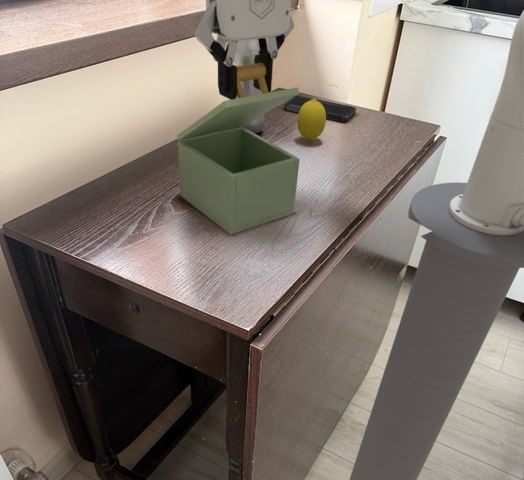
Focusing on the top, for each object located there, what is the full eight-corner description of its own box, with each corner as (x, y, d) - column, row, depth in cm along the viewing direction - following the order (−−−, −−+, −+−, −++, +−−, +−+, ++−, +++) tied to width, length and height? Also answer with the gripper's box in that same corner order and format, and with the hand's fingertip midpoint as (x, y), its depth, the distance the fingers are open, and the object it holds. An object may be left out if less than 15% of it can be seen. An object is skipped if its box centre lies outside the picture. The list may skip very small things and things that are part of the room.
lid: (299, 93, 69) (289, 54, 68) (226, 107, 63) (213, 64, 62) (243, 126, 81) (234, 93, 80) (178, 140, 76) (166, 105, 74)
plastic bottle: (255, 140, 100) (261, 22, 87) (225, 133, 102) (226, 17, 89) (269, 130, 105) (276, 16, 91) (239, 123, 107) (242, 11, 93)
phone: (346, 117, 110) (283, 103, 114) (345, 123, 110) (282, 109, 114) (357, 107, 115) (296, 94, 119) (356, 112, 116) (296, 99, 120)
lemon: (320, 136, 104) (326, 94, 99) (324, 147, 100) (330, 104, 95) (293, 135, 104) (298, 93, 98) (297, 146, 100) (301, 103, 94)
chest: (293, 213, 80) (299, 158, 74) (230, 234, 74) (232, 177, 68) (241, 179, 88) (242, 126, 82) (180, 196, 82) (177, 141, 76)
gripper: (204, -81, 50) (208, 113, 62) (328, -79, 58) (310, 91, 71) (164, -87, 54) (176, 95, 66) (286, -85, 62) (276, 77, 75)
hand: (245, 91), depth 68 cm, fingers closed on lid, 5 cm apart
